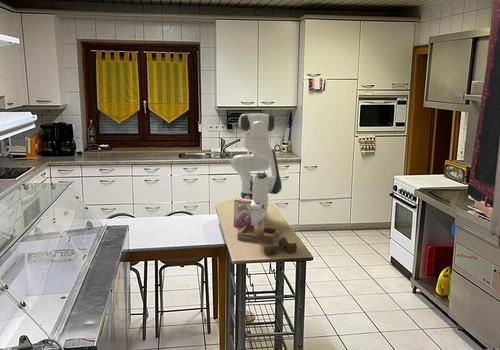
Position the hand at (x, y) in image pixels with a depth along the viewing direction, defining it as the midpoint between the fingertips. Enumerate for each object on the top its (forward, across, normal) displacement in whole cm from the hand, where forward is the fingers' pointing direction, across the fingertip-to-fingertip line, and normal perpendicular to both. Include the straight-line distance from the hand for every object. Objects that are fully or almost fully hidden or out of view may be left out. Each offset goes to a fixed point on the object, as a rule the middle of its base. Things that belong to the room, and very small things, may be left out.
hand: (259, 226), depth 250 cm
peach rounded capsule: (+5, 0, 0) cm, 5 cm away
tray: (+6, 0, 0) cm, 6 cm away
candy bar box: (+6, -15, -14) cm, 21 cm away
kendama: (+7, +17, +17) cm, 25 cm away
